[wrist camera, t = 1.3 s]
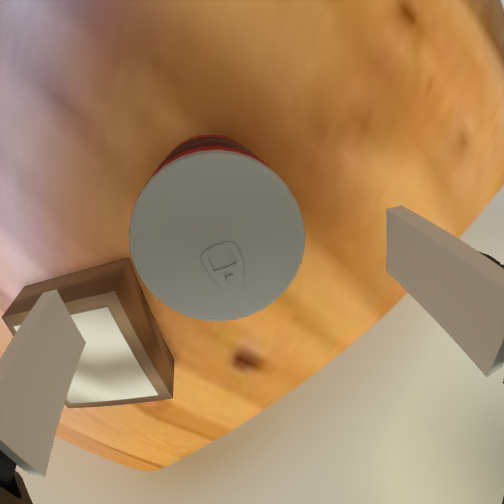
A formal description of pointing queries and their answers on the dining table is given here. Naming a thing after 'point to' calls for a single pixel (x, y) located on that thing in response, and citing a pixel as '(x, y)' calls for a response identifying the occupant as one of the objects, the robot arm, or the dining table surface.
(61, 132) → the dining table surface
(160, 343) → the base block
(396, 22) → the dining table surface
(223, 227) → the canned food
